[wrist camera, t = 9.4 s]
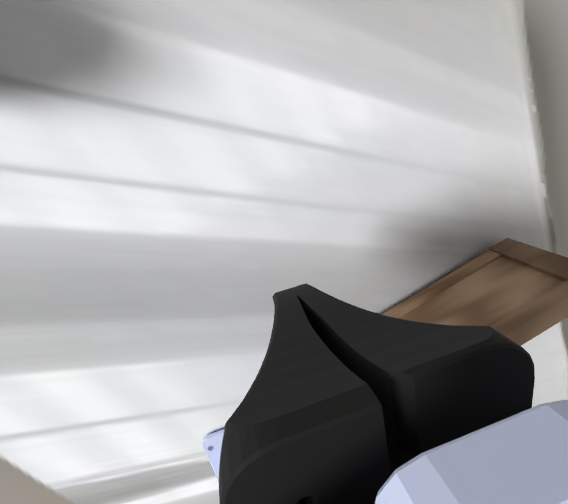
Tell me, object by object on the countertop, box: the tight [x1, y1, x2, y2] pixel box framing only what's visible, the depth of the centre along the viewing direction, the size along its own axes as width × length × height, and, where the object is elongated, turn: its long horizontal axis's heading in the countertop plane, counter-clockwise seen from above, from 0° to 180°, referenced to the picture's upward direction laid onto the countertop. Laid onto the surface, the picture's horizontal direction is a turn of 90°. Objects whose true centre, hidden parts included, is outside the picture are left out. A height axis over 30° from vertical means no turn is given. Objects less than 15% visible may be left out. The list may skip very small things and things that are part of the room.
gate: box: [381, 238, 568, 346], centre depth 21 cm, size 15×2×7 cm, turn 117°
